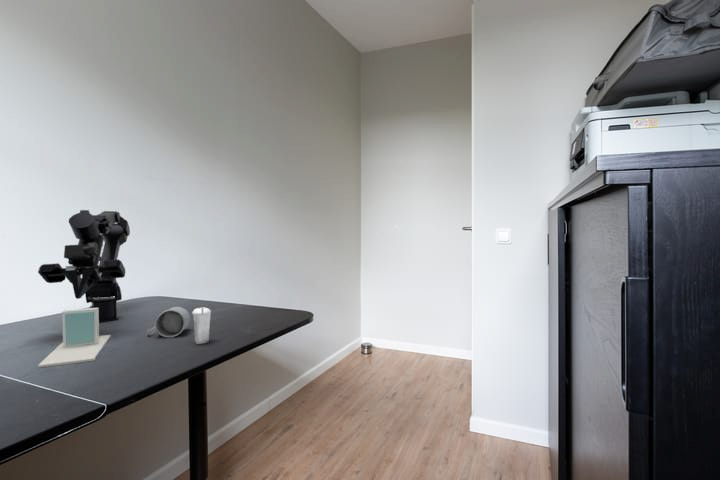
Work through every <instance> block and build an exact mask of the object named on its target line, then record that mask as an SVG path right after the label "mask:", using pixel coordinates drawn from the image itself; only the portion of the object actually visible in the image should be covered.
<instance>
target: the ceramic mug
mask: <svg viewBox="0 0 720 480" xmlns="http://www.w3.org/2000/svg"><path fill="white" fill-rule="evenodd" d="M190 320H191V316H190V313H189V311H188V310H187V309H186V308H184V307H183V306H182V307H181V306H173V307H170V308H168V309H167V310H163V311H162V312H161V313H160V314H159V315H158V316H157V317H156V319H155V322H154V326H153V327H150V328H149V329H148V330H146V333H147V334H148V336H149V337H150V336H152V335H154V334H155V335H156V334H157V333H158V334H159V335H160V336H161V337H164V338H174V337H177V336H179V335H180V334H181V333H182V332H183V331H184V330H185V329H186V328H187V327H188V325H189V324H190Z"/></svg>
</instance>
